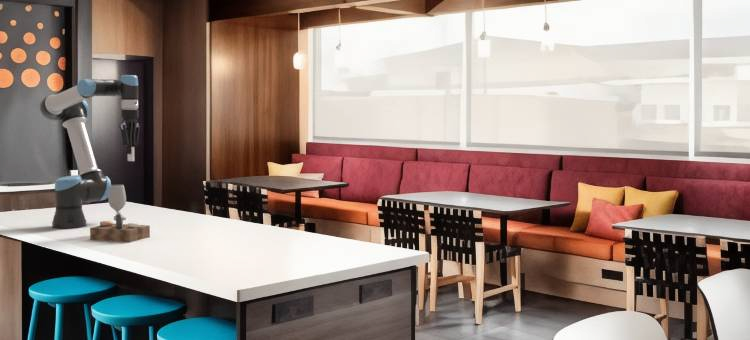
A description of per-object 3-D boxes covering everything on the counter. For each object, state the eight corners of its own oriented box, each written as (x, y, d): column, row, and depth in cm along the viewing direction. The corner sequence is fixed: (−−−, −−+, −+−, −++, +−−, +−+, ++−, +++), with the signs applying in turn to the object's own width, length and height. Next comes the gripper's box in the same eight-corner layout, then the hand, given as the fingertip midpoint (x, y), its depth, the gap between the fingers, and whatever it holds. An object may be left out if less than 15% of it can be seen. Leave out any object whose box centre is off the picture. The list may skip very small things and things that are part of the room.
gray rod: (114, 229, 359) (114, 212, 358) (118, 228, 361) (118, 211, 361) (119, 229, 358) (119, 212, 358) (123, 228, 360) (122, 212, 360)
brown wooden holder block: (90, 239, 363) (89, 227, 363) (110, 234, 376) (110, 223, 376) (130, 242, 357) (130, 230, 356) (149, 237, 370) (149, 225, 369)
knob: (125, 238, 363) (125, 223, 362) (132, 236, 367) (132, 222, 367) (135, 239, 361) (135, 224, 360) (142, 237, 366) (142, 222, 365)
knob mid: (111, 231, 365) (111, 216, 364) (118, 229, 369) (118, 215, 369) (121, 231, 363) (121, 217, 363) (128, 230, 368) (128, 215, 367)
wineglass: (105, 232, 383) (104, 185, 381) (118, 230, 390) (116, 184, 388) (118, 233, 379) (116, 186, 378) (130, 231, 386) (129, 184, 384)
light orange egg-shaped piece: (98, 236, 367) (97, 222, 367) (105, 235, 372) (104, 220, 371) (107, 237, 366) (107, 222, 365) (115, 235, 370) (114, 221, 370)
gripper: (127, 109, 382) (128, 162, 384) (145, 109, 394) (146, 160, 396) (113, 109, 385) (115, 161, 387) (132, 109, 397) (133, 159, 399)
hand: (131, 160), depth 391 cm, fingers closed
